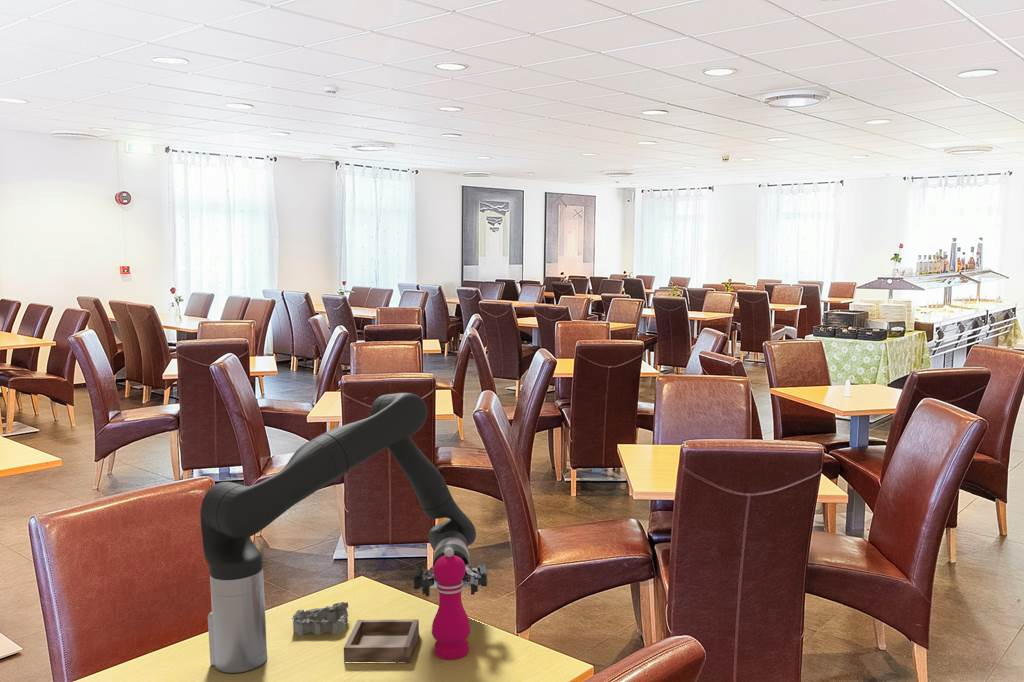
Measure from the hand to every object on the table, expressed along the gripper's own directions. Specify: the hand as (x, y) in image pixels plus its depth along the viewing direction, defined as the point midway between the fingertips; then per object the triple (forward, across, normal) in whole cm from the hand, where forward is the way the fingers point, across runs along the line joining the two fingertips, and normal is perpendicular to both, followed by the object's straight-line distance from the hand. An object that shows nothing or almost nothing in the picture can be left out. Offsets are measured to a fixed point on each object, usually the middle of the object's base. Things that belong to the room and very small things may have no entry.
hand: (450, 590), depth 159 cm
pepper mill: (+2, 0, +11) cm, 11 cm away
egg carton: (-11, -26, +12) cm, 31 cm away
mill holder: (-1, -13, +11) cm, 17 cm away
